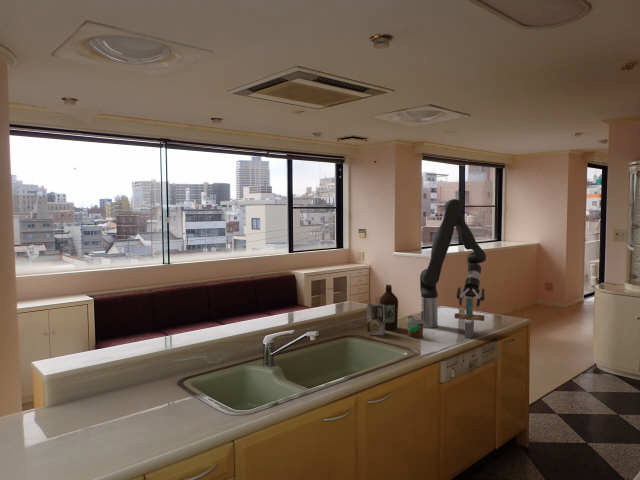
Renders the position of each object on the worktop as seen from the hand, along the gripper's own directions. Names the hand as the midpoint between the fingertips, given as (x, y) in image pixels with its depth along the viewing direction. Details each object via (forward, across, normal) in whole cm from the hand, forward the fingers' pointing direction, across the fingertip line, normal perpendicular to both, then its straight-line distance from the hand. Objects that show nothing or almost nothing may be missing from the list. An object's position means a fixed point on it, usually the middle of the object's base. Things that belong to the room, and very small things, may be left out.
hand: (469, 305), depth 255 cm
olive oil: (+12, -44, +12) cm, 48 cm away
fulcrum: (+11, 0, +13) cm, 17 cm away
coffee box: (+22, -47, +2) cm, 52 cm away
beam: (+4, 0, +6) cm, 8 cm away
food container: (+20, -27, +4) cm, 34 cm away
